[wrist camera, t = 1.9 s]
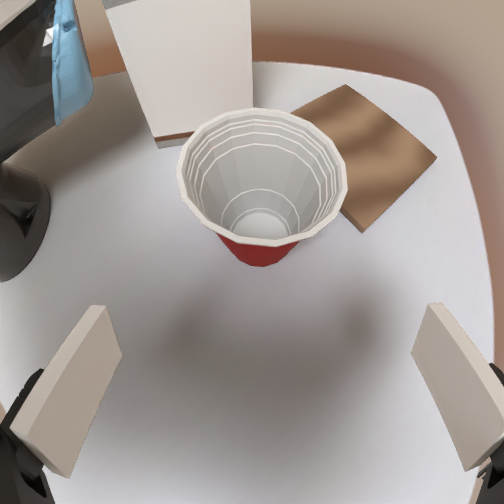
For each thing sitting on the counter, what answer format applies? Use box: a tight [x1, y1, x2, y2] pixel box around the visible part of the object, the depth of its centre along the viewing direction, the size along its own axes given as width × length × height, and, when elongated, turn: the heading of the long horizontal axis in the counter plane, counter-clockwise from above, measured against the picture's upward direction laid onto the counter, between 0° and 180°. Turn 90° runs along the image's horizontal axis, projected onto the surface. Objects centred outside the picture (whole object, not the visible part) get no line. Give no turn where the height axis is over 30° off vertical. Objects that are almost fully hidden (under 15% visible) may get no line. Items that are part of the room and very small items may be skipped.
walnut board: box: [290, 84, 437, 233], centre depth 32 cm, size 16×16×1 cm
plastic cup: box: [176, 108, 348, 267], centre depth 23 cm, size 11×11×12 cm
